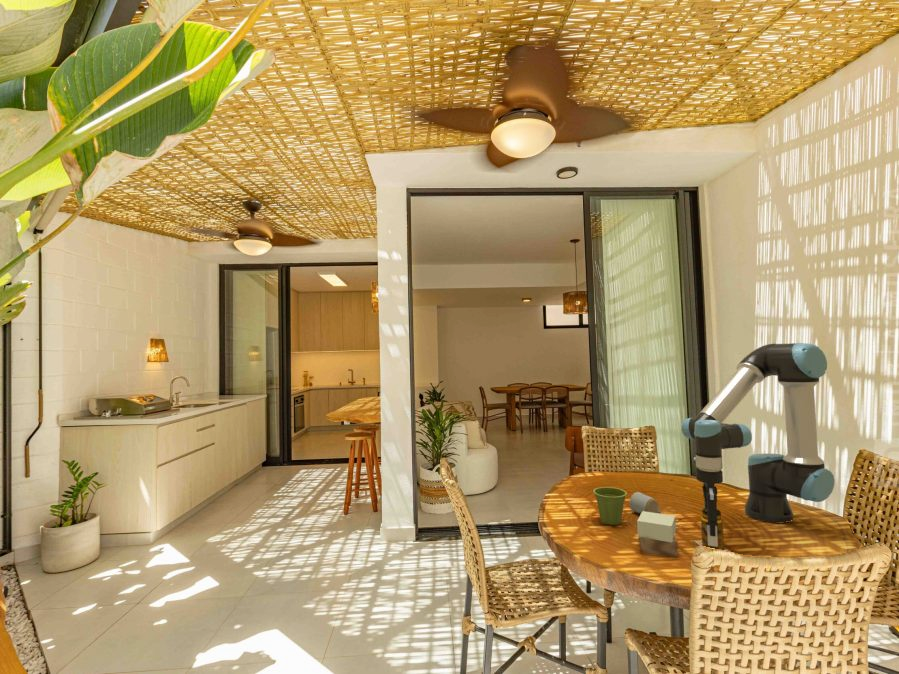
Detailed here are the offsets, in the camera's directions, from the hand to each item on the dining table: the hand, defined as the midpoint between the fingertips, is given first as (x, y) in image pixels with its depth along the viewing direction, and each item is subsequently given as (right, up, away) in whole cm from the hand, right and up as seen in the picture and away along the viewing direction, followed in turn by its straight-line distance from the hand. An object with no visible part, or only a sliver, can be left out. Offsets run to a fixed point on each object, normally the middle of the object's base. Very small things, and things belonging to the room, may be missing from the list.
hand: (711, 541), depth 151 cm
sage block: (-17, +2, +1) cm, 17 cm away
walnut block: (-17, -3, 0) cm, 18 cm away
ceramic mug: (-8, -3, +32) cm, 33 cm away
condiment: (0, -2, +1) cm, 2 cm away
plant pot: (-24, -3, +24) cm, 34 cm away
